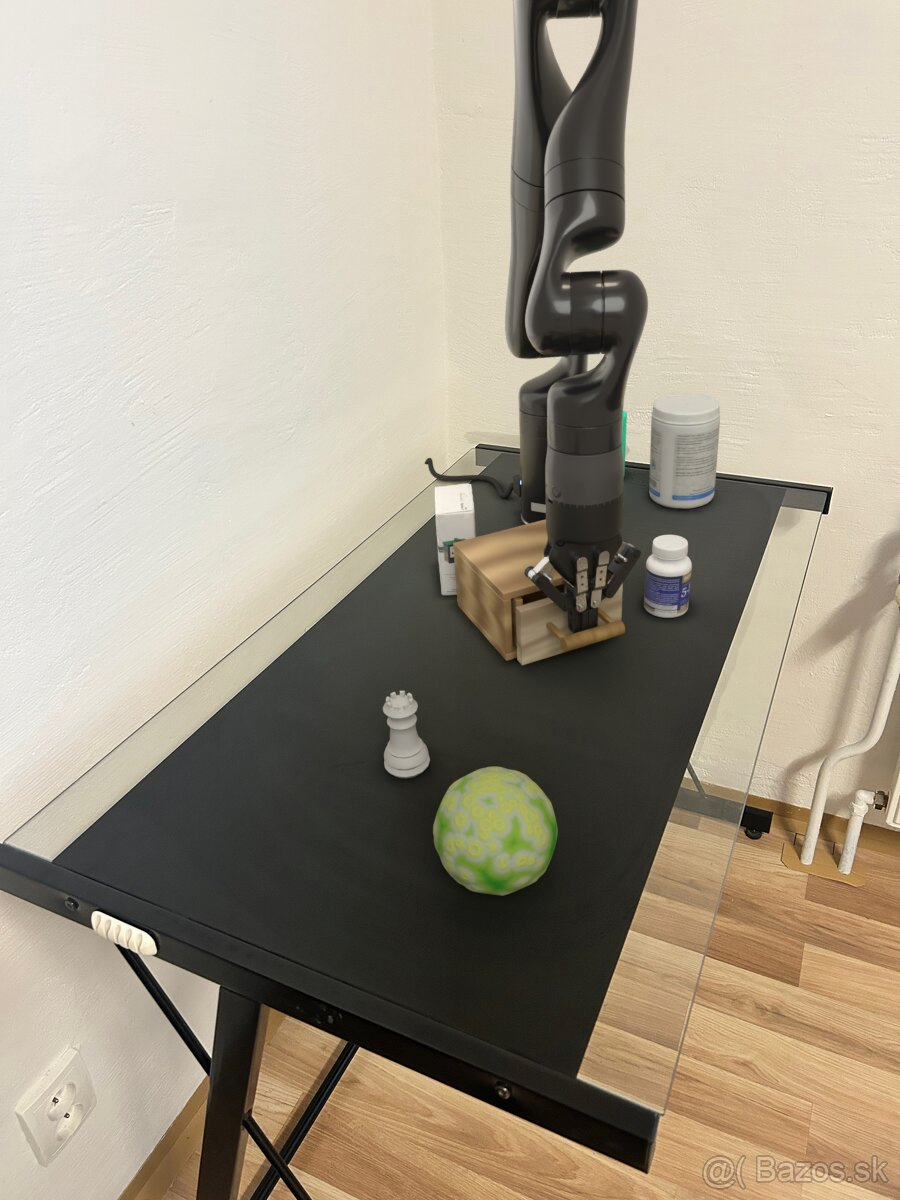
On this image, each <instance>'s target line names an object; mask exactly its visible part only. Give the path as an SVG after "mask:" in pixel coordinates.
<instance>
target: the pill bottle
mask: <svg viewBox="0 0 900 1200" xmlns="http://www.w3.org/2000/svg"><path fill="white" fill-rule="evenodd" d="M651 550H652V552H651V555H649V556H648V558H647V559H646V562H645V577H644V579H645V581H644V595H643V598H644V599H643V608H644V610H645V611H646V612H647V613H649V614H650V615H652V616H655V617H657V618H663V619H672V618H678V617H681V616H683V615H684V614H685V613H687V612H688V610H689V605H690V592H691V581H692V580H691V579H692V571H693V563H692V561H691V559H690V557H689V556H688V552H689V542H688V540H687V539H686V538H685V537H683V536H680V535H677V534H663V535H658V536H657V537H655V538H653V540H652V546H651Z"/></svg>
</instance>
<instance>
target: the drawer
mask: <svg viewBox="0 0 900 1200" xmlns="http://www.w3.org/2000/svg"><path fill="white" fill-rule="evenodd" d="M610 581H611V580H609V581H608V584H609V582H610ZM555 587H556V588H557V589H558V590H559V591H560V592H561V593H565V590H564V584H562V585H558V586H555ZM623 587H624V582H623V583H622V585H621V586H620V588H619V589H618V591H617V592H616V594H615V595H614V597H612V598H607V597H606V598H605V599H603V600H602V601H601V603H600V605H599V606H598V626H597V627H594V628H590V629H587V630H584V631H580V632H577V633H574V634H573V633H572V632H571V631H570V630H569V628H568V611H563V610H561V609H560V608H559V607H558V606H557V605H556V604H555V603H554V602H553V601H552V600H551V599H550V598H549V597H548V596H547V595H545V594H544V593H543V592H542V591H537V592H533V593H530V594H526V595H523V596H519V597H516V598H512V599H511V615H512V642H513V644H514V645H515V646H516V647H517V658H516V659H517V662H518V663H519V664H520V665H521V666H525V665H529V664H531V663H534V662H538V661H541V660H544V659H547V658H550V657H555V656H557V655H560V654H564V653H567V652H570V651H574V650H577V649H580V648H584V647H586V646H590V645H594V644H596V643H599V642H602V641H606V640H609V639H610V640H611V639H613V638H616V637H620V636H622V635H624V634H625V633H626V626H625V624H624V622H623V620H622V616H623V615H622V614H623V613H622V612H623V590H624V588H623Z"/></svg>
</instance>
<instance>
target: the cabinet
mask: <svg viewBox="0 0 900 1200" xmlns="http://www.w3.org/2000/svg"><path fill="white" fill-rule="evenodd" d="M547 540H548V536H547V530H546V519H545V520H541V521H538V522H534V523H530V524H526V525H523V524H522V525H517V526H515V527H510V528H506V529H503V530H499V531H494V532H491V533H487V534H482V535H479V536H476V537H475V538H471V539H467V540H463V541H459V542H455V543H453V548H454V561H455V575H456V588H457V595H456V599H457V600H456V601H457V606H458V607H459V609H460V610H461V611H462V612H463V613H464V615H466V617H467V618H468V619H469V620H470V621H471V622H472V624H474V626H475V627H476V628H477V629H478V631H480V633H481V634H482V635H483V636H484V637H485V639H487V641H488V642H489V643H490V644H491V646H493V647H494V649H495V650H496V651H497V652H498V653H499V654H500V656H502V658H503V659H504V660H505V661H506V662H508V661H511V660H513V659H517V647H516V646H515V645H514V644H513V642H512V615H511V599H512V598H516V597H519V596H523V595H526V594H530V593H533V592H537V591H541V590H540V589H539V588H538V587H537V586H536V585H535V584H534V583H533V582H532V581H531V580H530V579H529V578H527V577H526V576H525V574H524V572H525V569H526V568H527V567H529V566H533V567H534V568H535V567H536V566H537V564H538V563H539V562H540V561H541V560H542V559H543V558H544V554H543V551H544V548H545V546H546V543H547ZM551 571H552V574H553V579H554V581H553V582H552V583H551V584H553V585H554V586H558V585H562V584H563V583H562V580H561V575H560V574H559V573H558V572H557V571H556V570H555V569H554V568H553V567H552V570H551ZM613 576H614V574H613V575H612V577H611V578H610V580H611V579H612V578H613Z"/></svg>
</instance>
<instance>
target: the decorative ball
mask: <svg viewBox="0 0 900 1200" xmlns="http://www.w3.org/2000/svg"><path fill="white" fill-rule="evenodd" d="M555 814H556V813H555V811H554V808H553V804H552V801H551V800H550V799H549V797H548V796H547V795H546V793H545V792H544V791H543V790H542V789H541V787H540V786H539V785H538V784H537V782H535V781H533V780H532V779H531V778H530V777H529V776H528V775H527V774H526V773H523V772H521V771H519V770H517V769H516V770H515V769H510V768H505V767H502V766H487V767H482V768H479V769H476V770H474V771H472V772H470V773H468V774H466V775H464V776H462V777H461V778H458V779H457V780H455V781H454V782H453V783H452V784H451V785H450V786H449V787H448V788H447V790H446V792H445V793H444V795H443V797H442V799H441V801H440V804H439V806H438V809H437V811H436V814H435V818H434V822H433V824H432V825H433V826H432V834H433V844H434V848H435V850H436V853H437V854H438V856H439V859H440V861H441V864H442V866H443V868H444V869H445V871H446V872H447V873H448V875H449V876H450V877H451V878H452V879H454V881H455V882H456V883H458V884H459V885H461V886H463V887H465V889H467V890H469V891H471V892H474V893H480V894H487V895H494V896H501V897H502V896H503V897H505V896H506V895H509V894H513V893H515V892H518V891H519V890H522V889H525V888H526V887H529V886H530V885H533V884H534V883H536V882H537V881H538V880H539V879H540V877H542V876H543V875H544V874H545V873H546V871H547V869H548V867H549V865H550V863H551V860H552V858H553V855H554V851H555V849H556V844H557V841H558V835H559V830H558V829H559V828H558V824H557V818H556V817H557V816H556V815H555Z"/></svg>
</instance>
